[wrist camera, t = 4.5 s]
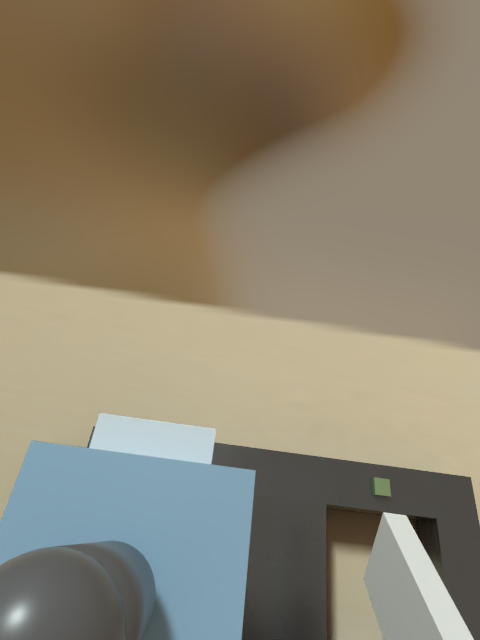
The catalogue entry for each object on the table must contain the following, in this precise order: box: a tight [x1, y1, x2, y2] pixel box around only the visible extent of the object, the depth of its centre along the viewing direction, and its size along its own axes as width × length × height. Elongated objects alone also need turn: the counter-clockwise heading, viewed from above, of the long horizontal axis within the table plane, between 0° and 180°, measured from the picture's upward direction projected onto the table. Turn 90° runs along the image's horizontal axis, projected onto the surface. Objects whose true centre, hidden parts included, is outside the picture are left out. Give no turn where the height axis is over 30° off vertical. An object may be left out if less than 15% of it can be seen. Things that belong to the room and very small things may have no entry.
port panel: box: [87, 426, 480, 640], centre depth 18 cm, size 20×10×2 cm, turn 84°
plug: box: [0, 413, 256, 640], centre depth 11 cm, size 4×5×19 cm
